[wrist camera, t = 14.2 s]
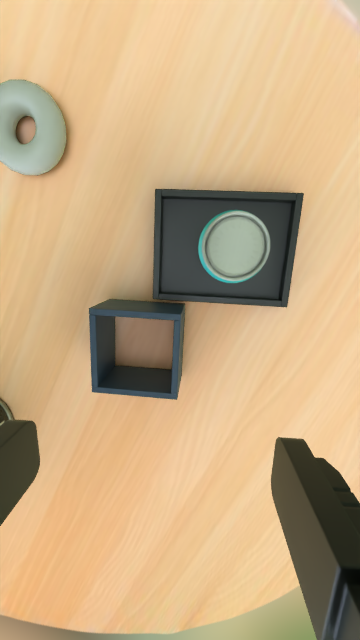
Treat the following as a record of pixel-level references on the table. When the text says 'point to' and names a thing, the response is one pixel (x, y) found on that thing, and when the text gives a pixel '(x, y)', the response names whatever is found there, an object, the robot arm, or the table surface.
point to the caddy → (125, 377)
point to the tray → (183, 239)
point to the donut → (50, 137)
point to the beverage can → (234, 246)
